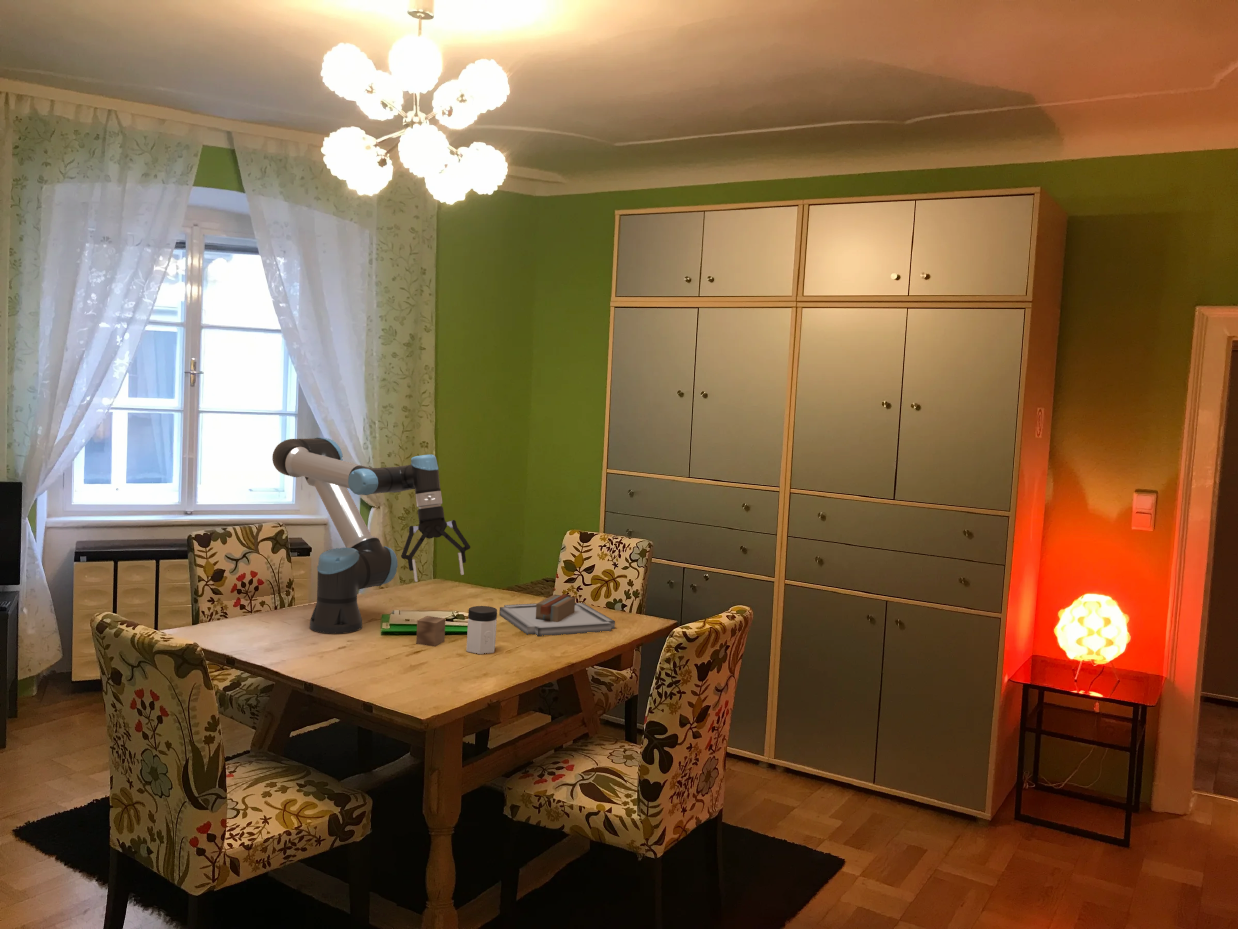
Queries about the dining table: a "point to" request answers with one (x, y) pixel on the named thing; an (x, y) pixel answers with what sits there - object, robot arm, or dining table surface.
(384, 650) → the dining table surface
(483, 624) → the jar
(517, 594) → the dining table surface
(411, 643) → the dining table surface
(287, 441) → the robot arm
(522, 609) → the grey tray
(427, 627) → the walnut block
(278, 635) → the dining table surface
